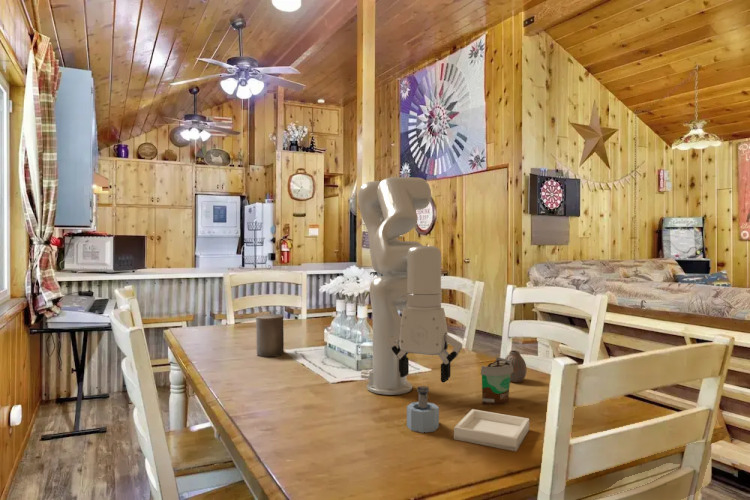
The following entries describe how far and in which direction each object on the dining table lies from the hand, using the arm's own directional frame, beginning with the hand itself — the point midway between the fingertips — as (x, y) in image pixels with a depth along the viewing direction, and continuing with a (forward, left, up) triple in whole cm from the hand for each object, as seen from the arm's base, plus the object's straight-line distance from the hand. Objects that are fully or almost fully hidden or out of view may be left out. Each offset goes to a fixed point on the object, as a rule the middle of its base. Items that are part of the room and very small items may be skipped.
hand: (424, 378), depth 115 cm
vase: (+9, +48, -11) cm, 50 cm away
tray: (+14, +4, -11) cm, 19 cm away
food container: (+10, +27, -11) cm, 31 cm away
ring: (-1, +1, -11) cm, 11 cm away
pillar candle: (-76, +40, -11) cm, 86 cm away
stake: (-1, +1, -11) cm, 11 cm away
